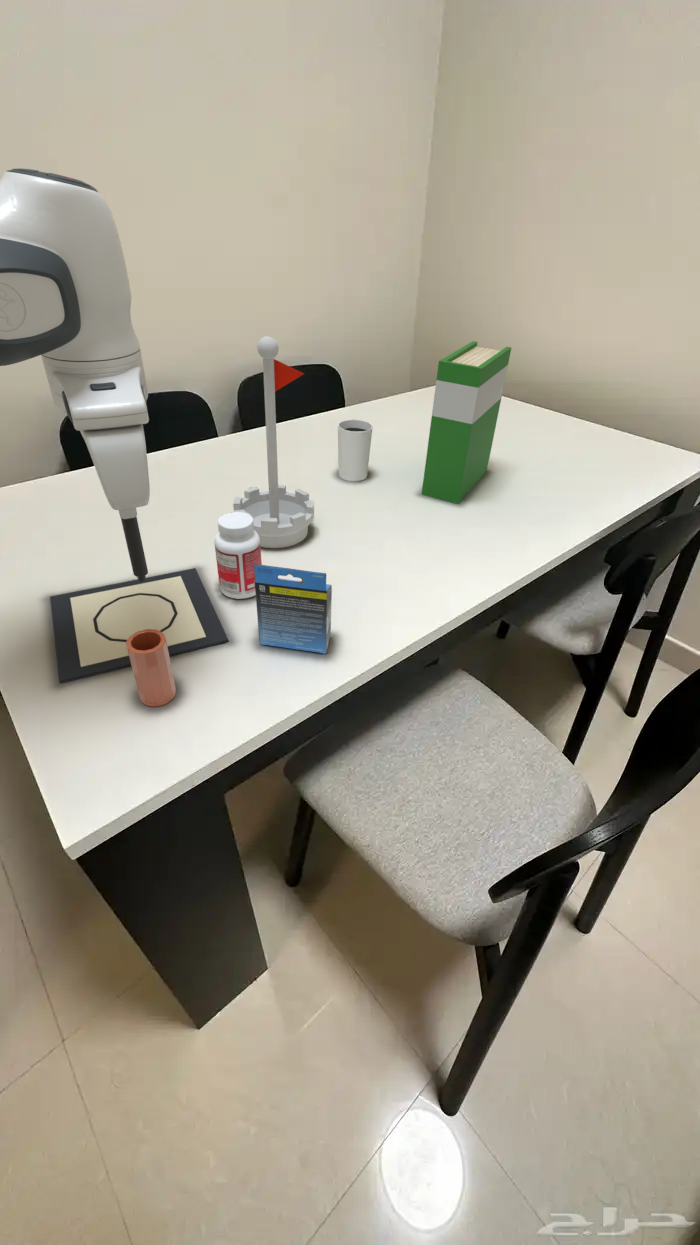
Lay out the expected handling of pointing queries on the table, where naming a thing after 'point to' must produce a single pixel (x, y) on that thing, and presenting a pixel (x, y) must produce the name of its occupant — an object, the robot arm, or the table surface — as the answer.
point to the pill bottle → (237, 554)
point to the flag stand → (276, 469)
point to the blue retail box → (293, 608)
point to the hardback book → (463, 420)
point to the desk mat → (131, 621)
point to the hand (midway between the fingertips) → (126, 509)
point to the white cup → (354, 449)
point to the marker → (135, 548)
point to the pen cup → (151, 667)
